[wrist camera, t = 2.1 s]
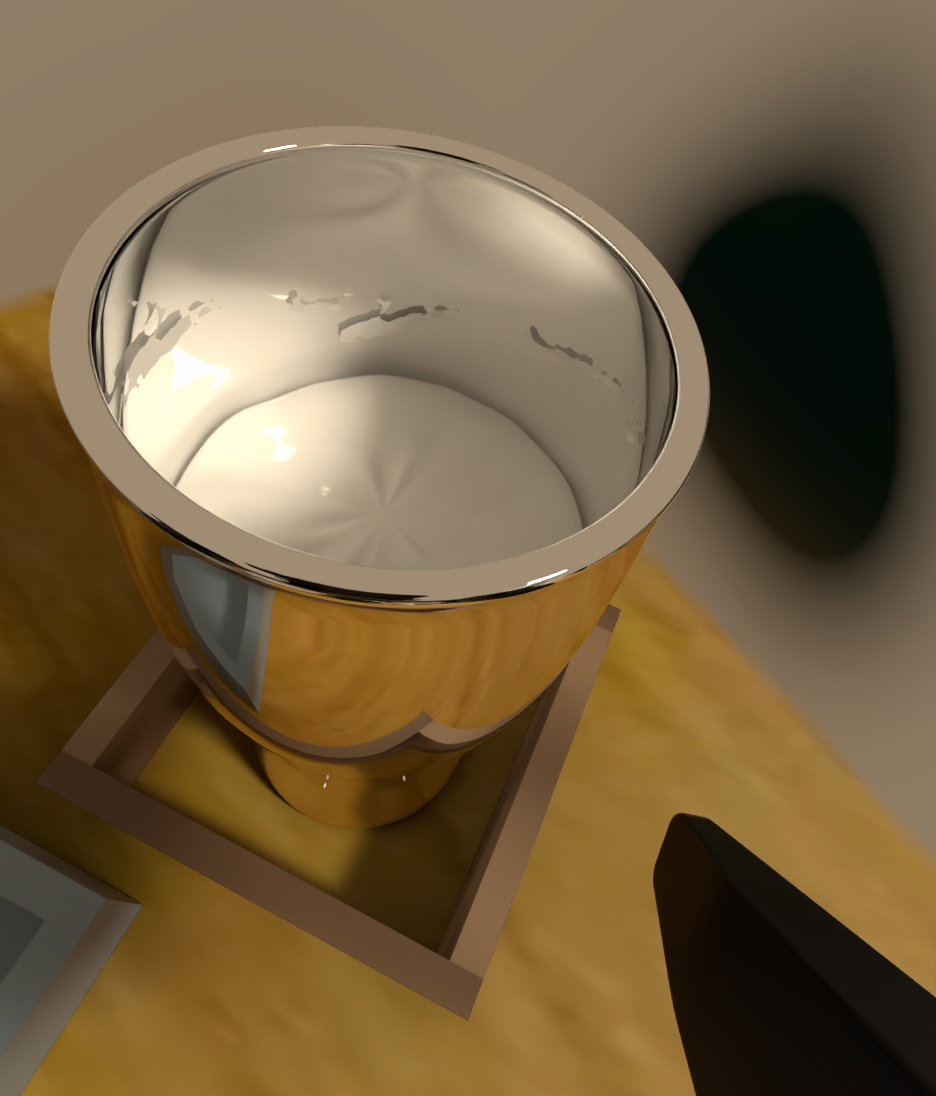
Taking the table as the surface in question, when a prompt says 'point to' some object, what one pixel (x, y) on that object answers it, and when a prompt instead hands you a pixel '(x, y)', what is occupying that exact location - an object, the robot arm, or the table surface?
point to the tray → (48, 949)
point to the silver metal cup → (373, 438)
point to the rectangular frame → (443, 976)
